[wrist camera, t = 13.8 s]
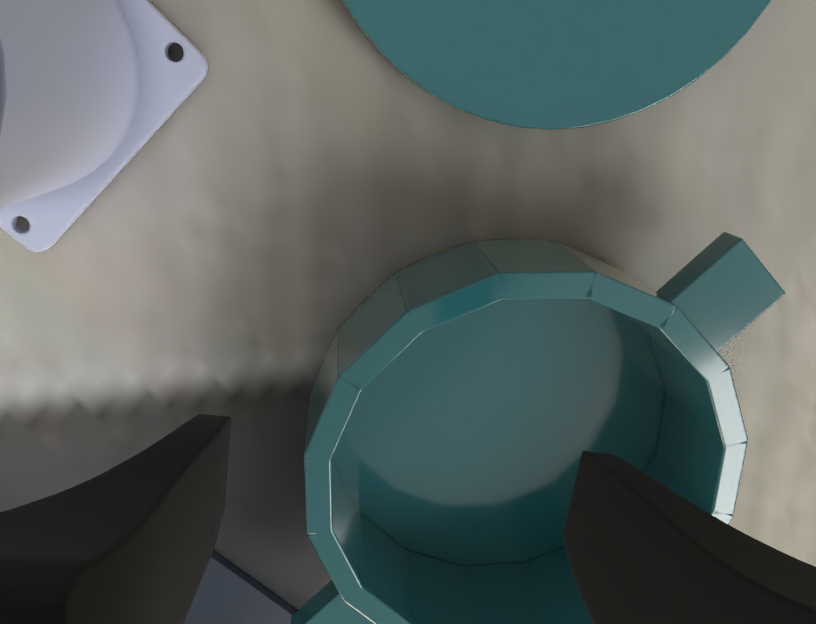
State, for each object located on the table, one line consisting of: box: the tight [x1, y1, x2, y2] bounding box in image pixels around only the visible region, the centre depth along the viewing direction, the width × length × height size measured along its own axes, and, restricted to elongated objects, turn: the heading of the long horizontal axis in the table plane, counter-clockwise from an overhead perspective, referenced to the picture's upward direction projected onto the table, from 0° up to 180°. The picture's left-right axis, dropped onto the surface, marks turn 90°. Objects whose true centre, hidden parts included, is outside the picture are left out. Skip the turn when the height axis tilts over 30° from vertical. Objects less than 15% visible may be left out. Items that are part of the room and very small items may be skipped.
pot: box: [290, 232, 785, 624], centre depth 23 cm, size 14×19×4 cm
